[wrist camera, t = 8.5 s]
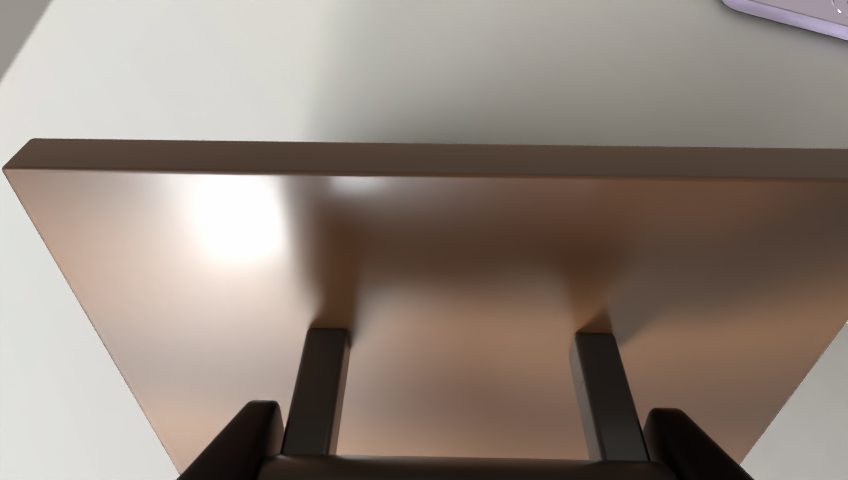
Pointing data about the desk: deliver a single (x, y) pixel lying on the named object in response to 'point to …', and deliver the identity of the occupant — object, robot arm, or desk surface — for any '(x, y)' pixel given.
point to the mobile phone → (800, 13)
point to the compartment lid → (449, 294)
